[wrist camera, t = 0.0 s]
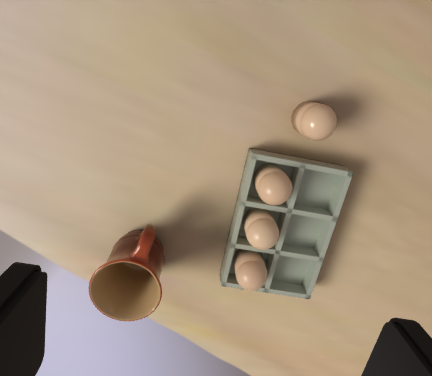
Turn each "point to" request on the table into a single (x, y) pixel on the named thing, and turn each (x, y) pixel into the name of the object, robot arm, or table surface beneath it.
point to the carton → (282, 223)
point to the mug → (130, 277)
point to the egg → (314, 120)
